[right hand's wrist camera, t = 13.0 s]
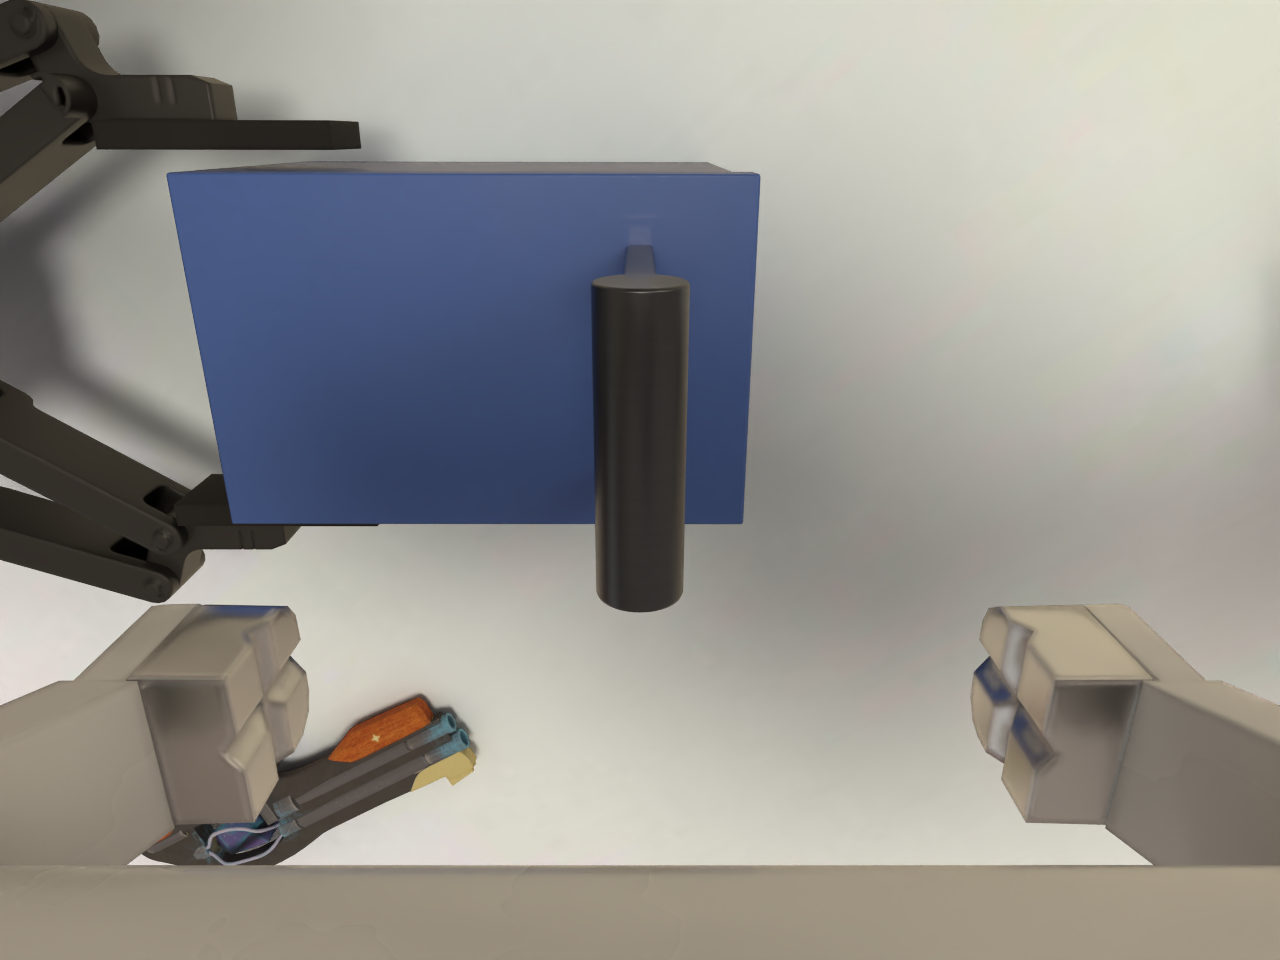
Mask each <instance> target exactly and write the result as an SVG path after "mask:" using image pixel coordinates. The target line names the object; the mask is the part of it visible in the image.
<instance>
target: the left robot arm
mask: <svg viewBox="0 0 1280 960" xmlns="http://www.w3.org/2000/svg"><path fill="white" fill-rule="evenodd" d="M98 45H99V34H98V30H97V27H96V26H95V24H94V23H93V21H92V20H91V19H90V18H89V17H88V16H86V15H85V14H84V13H81V12H78V11H74V10H69V9H65V8H60V7H56V6H51V5H47V4H42V3H38V2H33V1H29V0H9V1H6V2H4V3H2V4H0V92H2V91H4V90H7V89H9V88H11V87H14V86H16V85H19V84H21V83H24V82H26V81H29V80H31V79H33V80H43V81H42V83H41V84H39V85H38V86H37V87H36V88H35V89H33V90H32V91H31V92H30V93H29V94H27V95H26V96H25V97H24V98H23V99H21V100H20V101H19V102H18V103H17V104H15V105H14V106H13V107H12V108H11V109H9V110H8V111H7V112H6V113H5V114H3V115H2V116H1V117H0V222H1V221H2V220H4V219H5V218H6V217H7V216H9V215H10V214H11V213H12V212H14V211H15V210H16V209H17V208H19V207H20V206H21V205H22V204H24V203H25V202H26V201H27V200H29V199H30V198H31V197H32V196H34V195H35V194H36V193H37V192H39V191H40V190H41V189H42V188H44V187H45V186H46V185H47V184H49V183H50V182H51V181H52V180H54V179H55V178H56V177H57V176H59V175H60V174H61V173H62V172H64V171H65V170H66V169H67V168H69V167H70V166H71V165H72V164H74V163H75V162H76V161H77V160H79V159H80V158H81V157H82V156H84V155H85V154H86V153H87V152H89V151H90V150H91V149H92V148H94V147H95V146H96V147H97V149H179V150H339V149H360V148H361V142H360V133H359V124H358V122H350V121H329V120H237V114H236V108H235V101H234V95H233V88H232V86H231V85H229V84H226V83H224V82H222V81H219V80H217V79H214V78H208V77H201V76H193V75H120V74H119V73H117V72H116V71H114V70H113V69H112V68H111V67H110V66H109V65H108V63H107V62H106V60H105V59H104V57H103V55H102V54H101V52H100V50H99V48H98ZM0 474H2V475H4V476H6V477H7V478H9V479H11V480H13V481H15V482H17V483H19V484H21V485H23V486H25V487H27V488H29V489H31V490H33V491H35V492H37V493H39V494H41V495H43V496H45V497H47V498H49V499H51V500H53V501H51V500H47V499H44V498H40V497H37V496H33V495H30V494H26V493H23V492H20V491H16V490H13V489H9V488H5V487H1V486H0V560H3V561H6V562H10V563H13V564H17V565H21V566H24V567H28V568H31V569H35V570H38V571H42V572H46V573H49V574H53V575H56V576H60V577H63V578H67V579H71V580H74V581H78V582H81V583H85V584H88V585H92V586H96V587H99V588H103V589H106V590H110V591H113V592H117V593H120V594H124V595H128V596H131V597H135V598H138V599H142V600H145V601H149V602H154V603H161V602H165V601H166V600H168V599H169V598H170V597H171V596H172V595H173V594H174V593H175V592H176V591H177V590H178V589H179V588H180V587H181V586H182V585H183V584H184V583H185V582H186V581H187V580H188V579H189V578H190V577H191V576H192V575H193V574H194V573H195V572H197V571H198V570H199V569H200V568H201V567H202V566H203V564H204V562H205V554H204V552H203V550H202V549H274V548H277V547H279V546H282V545H284V544H286V543H287V542H288V541H289V540H290V538H291V537H292V536H293V535H294V534H295V533H296V532H297V530H298V529H299V528H300V527H301V526H378V525H379V524H234V523H232V519H231V513H230V508H229V503H228V498H227V492H226V487H225V482H224V477H223V474H211V475H210V476H209V477H208V478H206V479H205V480H204V481H203V482H201V483H200V484H199V485H198V486H196V487H195V488H194V489H192V490H190V489H188V488H186V487H184V486H182V485H180V484H178V483H177V482H175V481H173V480H171V479H169V478H167V477H165V476H163V475H161V474H160V473H158V472H156V471H154V470H152V469H150V468H148V467H146V466H144V465H143V464H141V463H139V462H137V461H135V460H133V459H131V458H129V457H127V456H125V455H124V454H122V453H120V452H118V451H116V450H114V449H112V448H110V447H108V446H107V445H105V444H103V443H101V442H99V441H97V440H95V439H93V438H91V437H89V436H88V435H86V434H84V433H82V432H80V431H78V430H76V429H74V428H72V427H71V426H69V425H67V424H65V423H63V422H61V421H59V420H57V419H55V418H54V417H52V416H50V415H48V414H46V413H44V412H42V411H40V410H38V409H37V408H35V407H34V406H33V400H32V398H31V397H30V396H29V395H27V394H26V393H24V392H22V391H20V390H18V389H16V388H14V387H12V386H11V385H9V384H7V383H5V382H3V381H1V380H0ZM54 501H55V502H54Z"/></svg>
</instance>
